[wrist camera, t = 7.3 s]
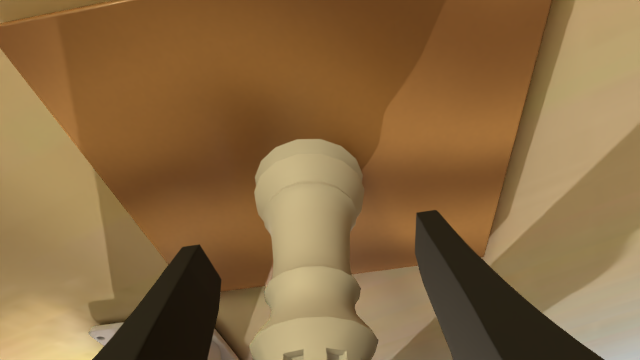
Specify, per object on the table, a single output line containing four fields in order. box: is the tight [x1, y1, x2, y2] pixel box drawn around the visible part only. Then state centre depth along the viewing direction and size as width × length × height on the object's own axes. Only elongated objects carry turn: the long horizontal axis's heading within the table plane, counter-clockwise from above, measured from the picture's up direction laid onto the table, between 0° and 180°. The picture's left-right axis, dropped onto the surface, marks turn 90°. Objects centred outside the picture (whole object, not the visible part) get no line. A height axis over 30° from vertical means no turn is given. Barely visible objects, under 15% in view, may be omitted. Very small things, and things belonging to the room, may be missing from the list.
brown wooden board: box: [0, 0, 552, 292], centre depth 14 cm, size 15×17×1 cm
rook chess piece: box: [249, 139, 378, 360], centre depth 10 cm, size 4×4×8 cm
